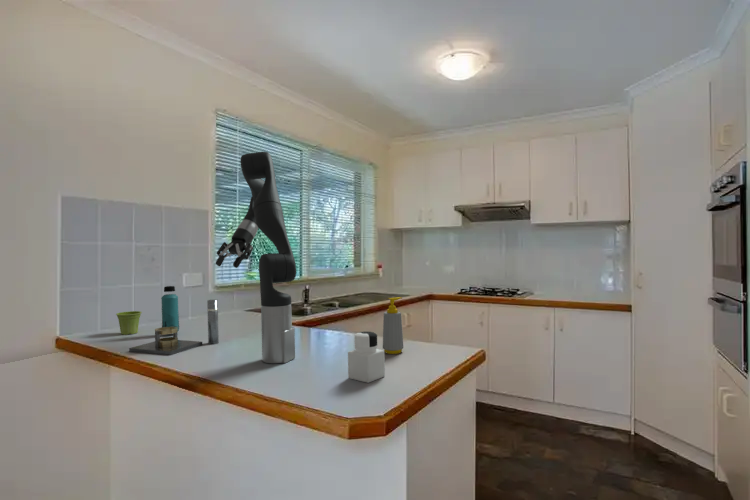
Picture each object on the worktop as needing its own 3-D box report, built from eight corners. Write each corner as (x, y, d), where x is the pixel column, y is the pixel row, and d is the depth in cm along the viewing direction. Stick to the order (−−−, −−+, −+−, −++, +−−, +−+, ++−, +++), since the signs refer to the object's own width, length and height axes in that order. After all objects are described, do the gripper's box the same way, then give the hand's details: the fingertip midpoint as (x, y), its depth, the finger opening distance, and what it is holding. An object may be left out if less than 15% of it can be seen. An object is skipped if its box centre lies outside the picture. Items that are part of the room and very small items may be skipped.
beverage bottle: (182, 333, 179) (181, 285, 179) (173, 336, 172) (172, 286, 172) (167, 333, 179) (166, 285, 179) (158, 336, 173) (157, 286, 173)
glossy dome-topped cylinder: (220, 342, 160) (220, 299, 160) (214, 344, 157) (213, 300, 156) (212, 341, 161) (211, 299, 161) (205, 344, 158) (204, 300, 158)
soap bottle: (407, 353, 140) (406, 297, 139) (387, 355, 137) (386, 299, 137) (398, 348, 146) (397, 295, 146) (379, 350, 143) (378, 297, 143)
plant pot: (147, 331, 185) (146, 311, 184) (132, 335, 175) (131, 314, 175) (127, 331, 186) (126, 311, 186) (111, 335, 176) (110, 314, 176)
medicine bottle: (365, 371, 120) (364, 329, 120) (385, 376, 115) (384, 331, 115) (347, 378, 114) (346, 333, 114) (368, 383, 110) (367, 336, 110)
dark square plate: (202, 344, 156) (201, 325, 156) (170, 355, 142) (169, 334, 142) (163, 342, 162) (163, 323, 162) (129, 351, 148) (128, 331, 148)
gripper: (226, 226, 173) (206, 258, 164) (254, 227, 168) (235, 261, 159) (236, 238, 179) (217, 270, 170) (263, 240, 173) (245, 272, 164)
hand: (226, 265), depth 164 cm, fingers open, 8 cm apart
